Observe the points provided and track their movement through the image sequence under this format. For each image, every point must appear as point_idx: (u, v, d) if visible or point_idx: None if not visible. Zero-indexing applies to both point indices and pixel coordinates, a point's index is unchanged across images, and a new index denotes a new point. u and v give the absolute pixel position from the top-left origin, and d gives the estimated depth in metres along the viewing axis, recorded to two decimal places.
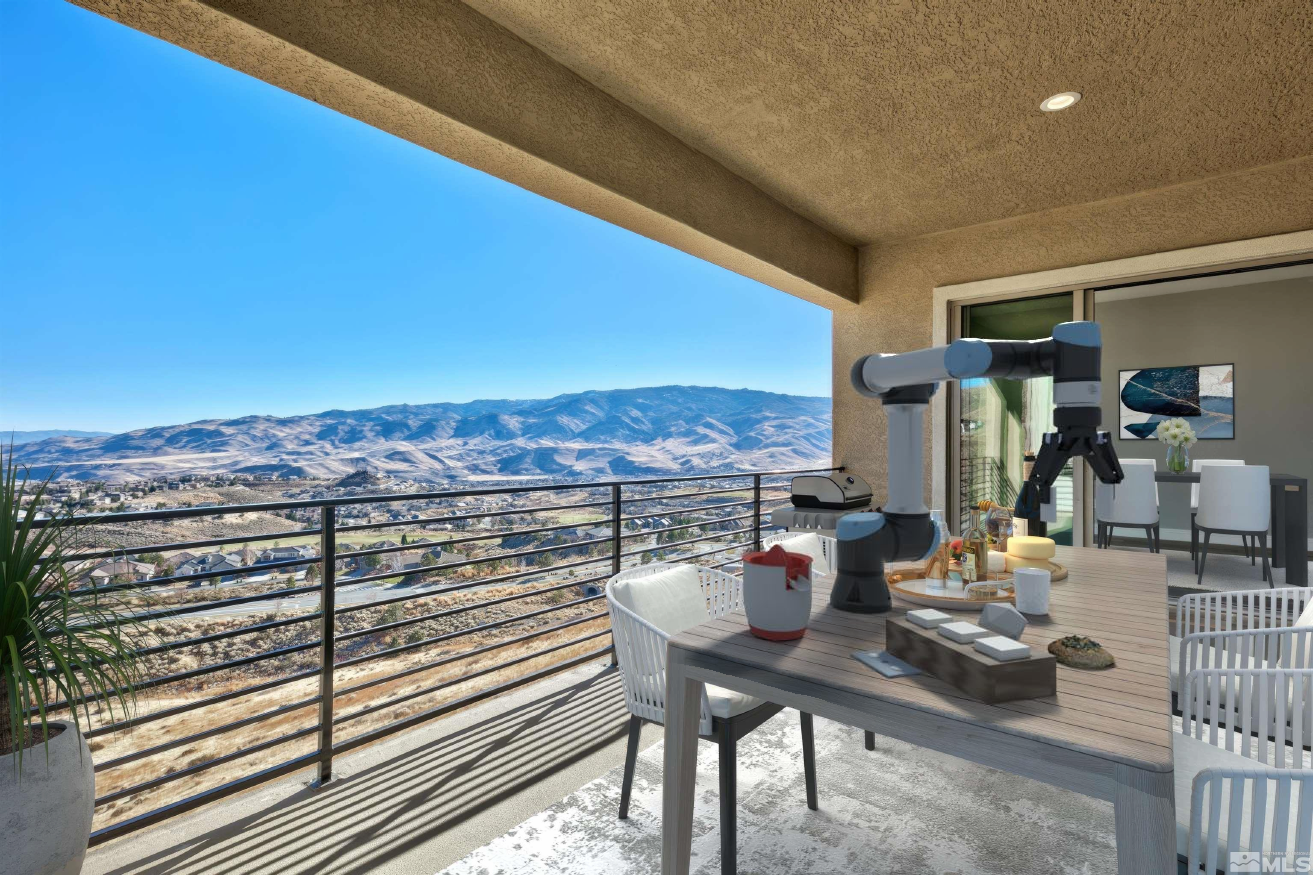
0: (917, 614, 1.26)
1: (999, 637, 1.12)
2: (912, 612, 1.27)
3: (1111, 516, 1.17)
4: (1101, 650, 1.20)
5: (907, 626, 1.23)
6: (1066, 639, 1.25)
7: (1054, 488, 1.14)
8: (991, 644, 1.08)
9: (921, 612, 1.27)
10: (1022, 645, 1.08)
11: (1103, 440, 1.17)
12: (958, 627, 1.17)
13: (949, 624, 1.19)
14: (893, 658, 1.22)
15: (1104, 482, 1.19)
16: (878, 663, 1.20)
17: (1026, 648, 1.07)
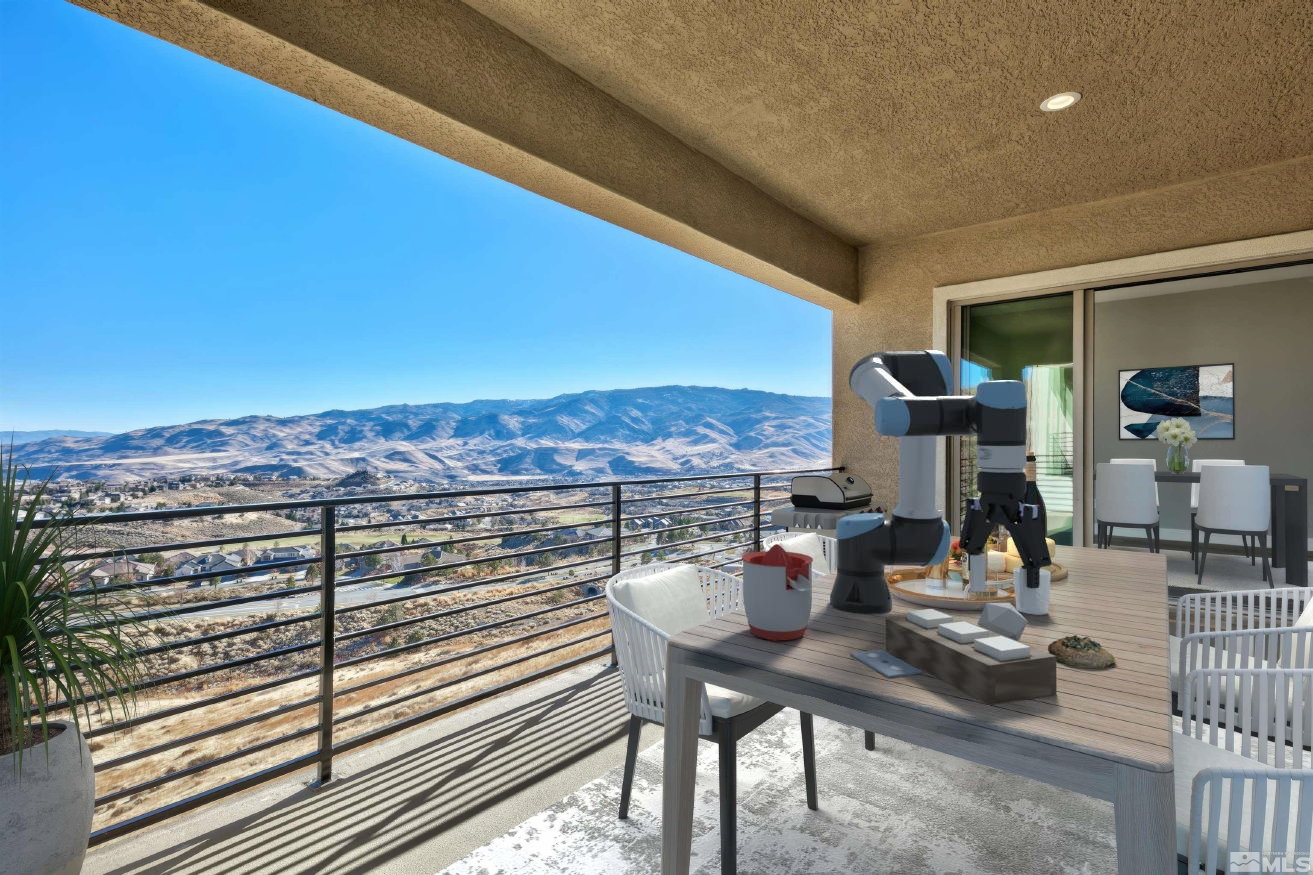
0: (917, 614, 1.26)
1: (999, 637, 1.12)
2: (912, 612, 1.27)
3: (1020, 604, 1.03)
4: (1101, 650, 1.20)
5: (907, 626, 1.23)
6: (1066, 639, 1.25)
7: (971, 557, 1.14)
8: (991, 644, 1.08)
9: (921, 612, 1.27)
10: (1022, 645, 1.08)
11: None
12: (958, 627, 1.17)
13: (949, 624, 1.19)
14: (893, 658, 1.22)
15: None
16: (878, 663, 1.20)
17: (1026, 648, 1.07)
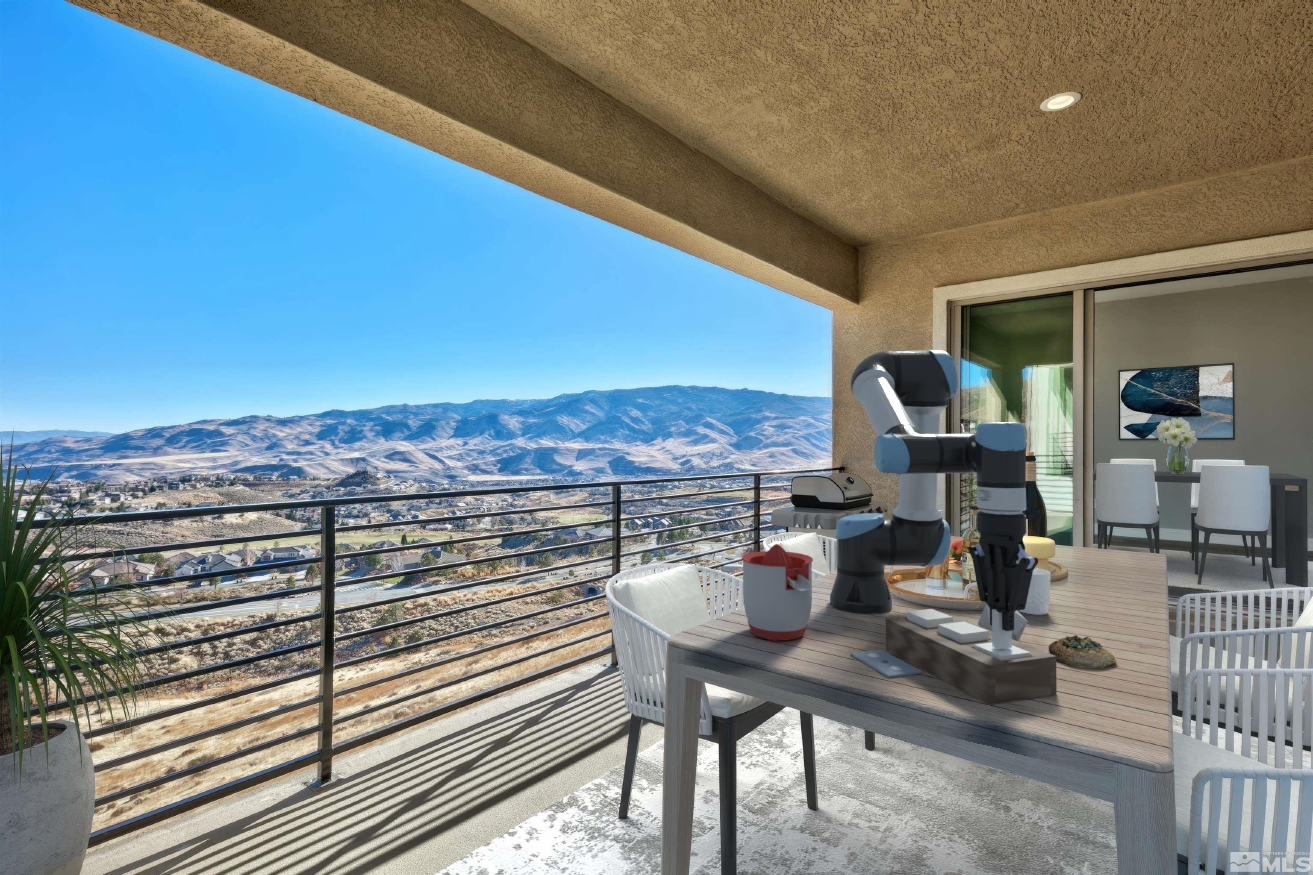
0: (917, 614, 1.26)
1: None
2: (912, 612, 1.27)
3: (996, 645, 1.08)
4: (1102, 650, 1.20)
5: (907, 626, 1.23)
6: (1067, 639, 1.25)
7: (993, 611, 1.09)
8: (991, 649, 1.08)
9: (921, 612, 1.27)
10: (1022, 650, 1.08)
11: None
12: (958, 627, 1.17)
13: (949, 624, 1.19)
14: (893, 658, 1.22)
15: None
16: (878, 663, 1.20)
17: (1026, 653, 1.07)
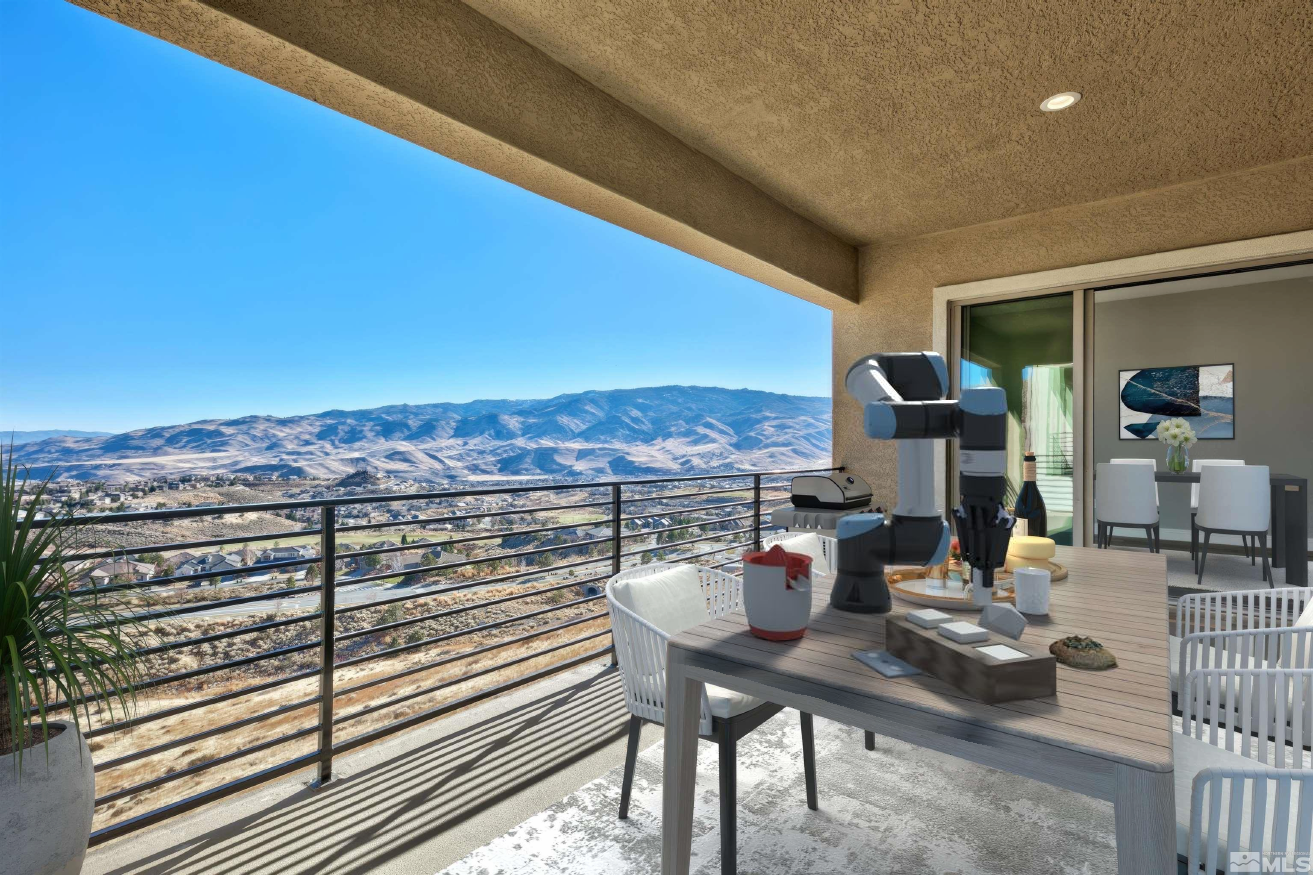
0: (917, 614, 1.26)
1: (999, 645, 1.12)
2: (912, 612, 1.27)
3: (976, 602, 1.13)
4: (1103, 650, 1.20)
5: (907, 626, 1.23)
6: (1068, 639, 1.25)
7: (974, 569, 1.13)
8: (991, 653, 1.08)
9: (921, 612, 1.27)
10: (1022, 654, 1.08)
11: None
12: (958, 627, 1.17)
13: (949, 624, 1.19)
14: (893, 658, 1.22)
15: None
16: (878, 663, 1.20)
17: None
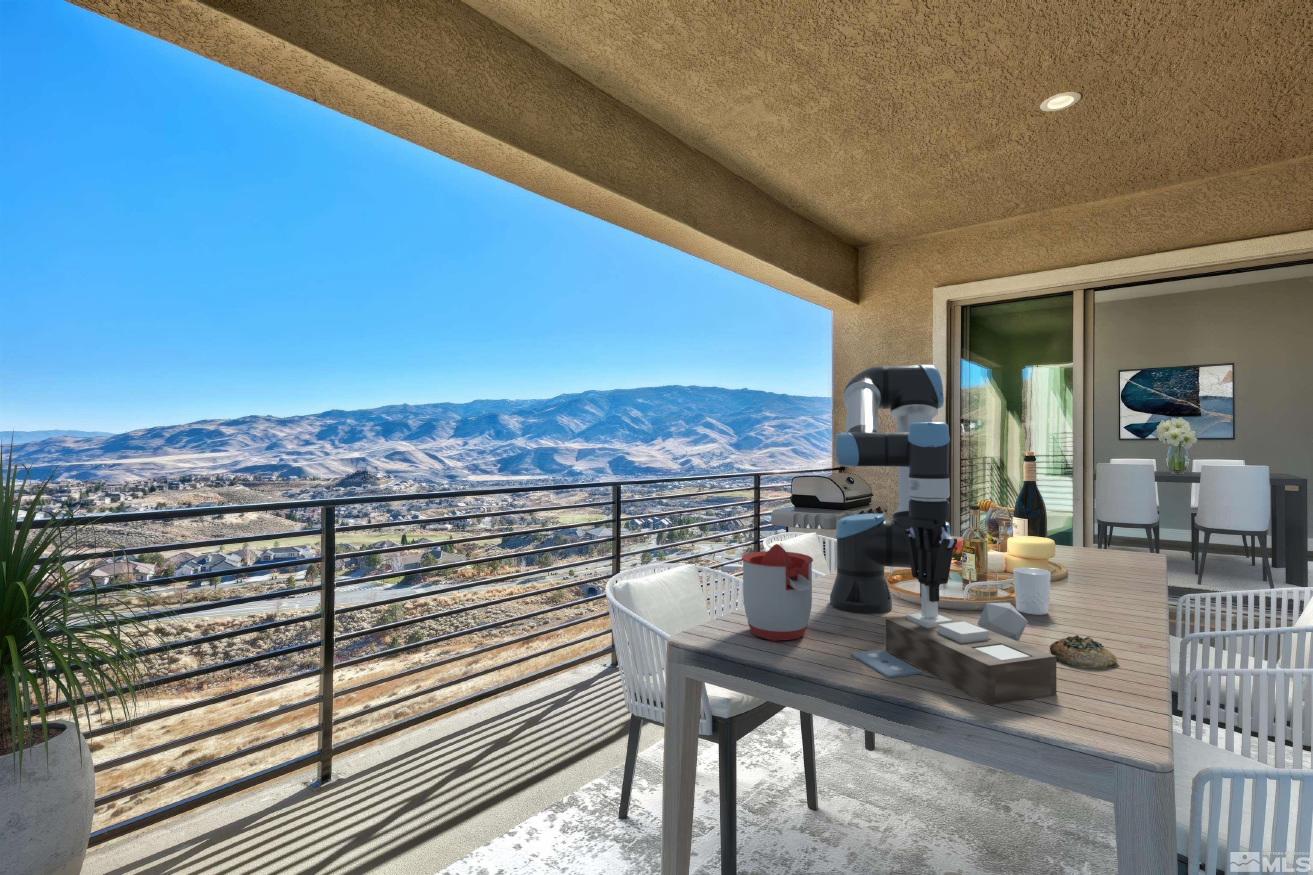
0: (917, 617, 1.26)
1: (999, 645, 1.12)
2: (912, 615, 1.27)
3: (924, 614, 1.25)
4: (1103, 650, 1.20)
5: (907, 626, 1.23)
6: (1068, 639, 1.25)
7: (922, 585, 1.26)
8: (991, 653, 1.08)
9: (921, 615, 1.27)
10: (1022, 654, 1.08)
11: None
12: (958, 627, 1.17)
13: (949, 624, 1.19)
14: (893, 658, 1.22)
15: None
16: (878, 663, 1.20)
17: None
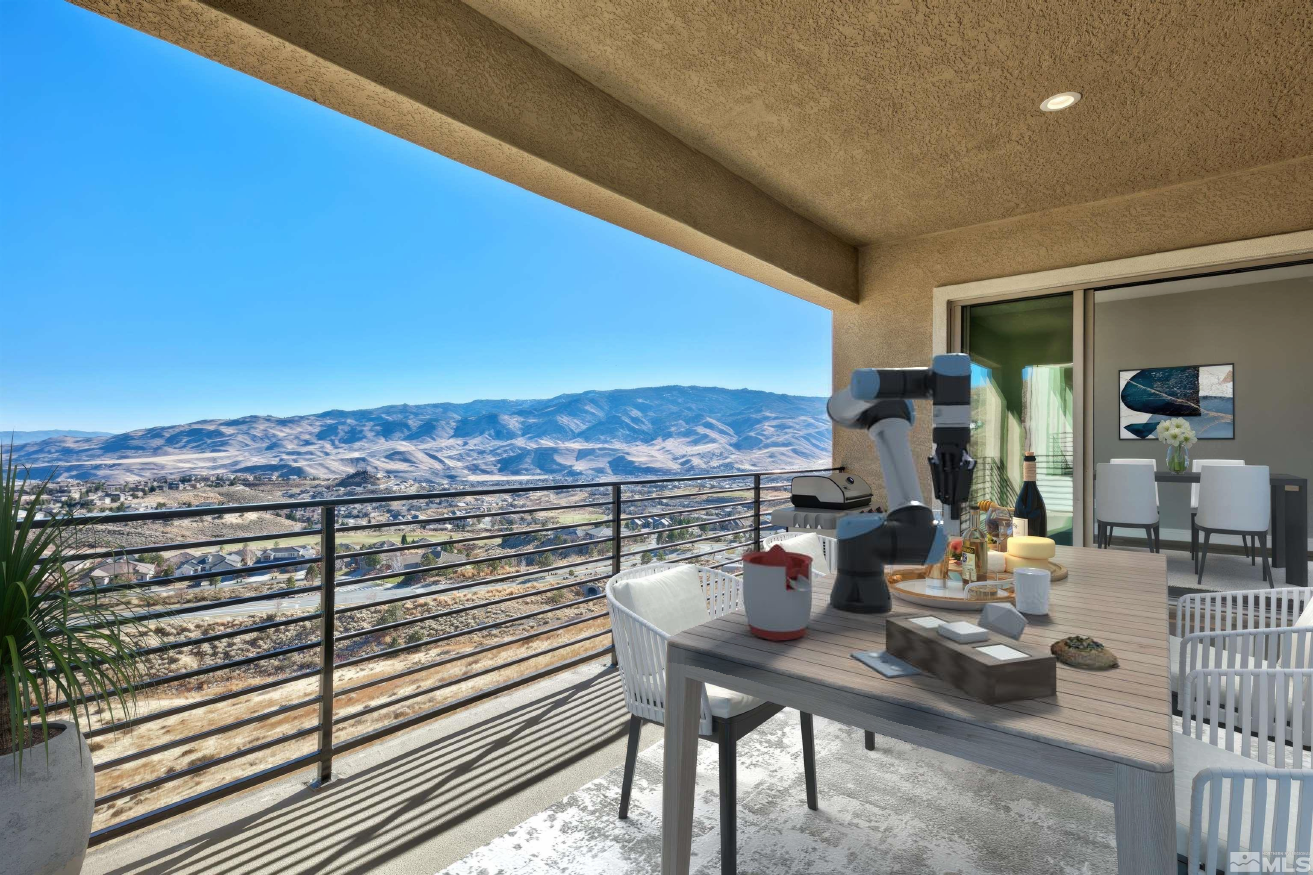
0: (917, 622, 1.26)
1: (999, 645, 1.12)
2: (912, 620, 1.27)
3: (946, 532, 1.36)
4: (1104, 650, 1.20)
5: (907, 626, 1.23)
6: (1069, 639, 1.24)
7: (944, 505, 1.36)
8: (991, 653, 1.08)
9: (921, 620, 1.27)
10: (1022, 654, 1.08)
11: None
12: (958, 627, 1.17)
13: (949, 624, 1.19)
14: (893, 658, 1.22)
15: None
16: (878, 663, 1.20)
17: None
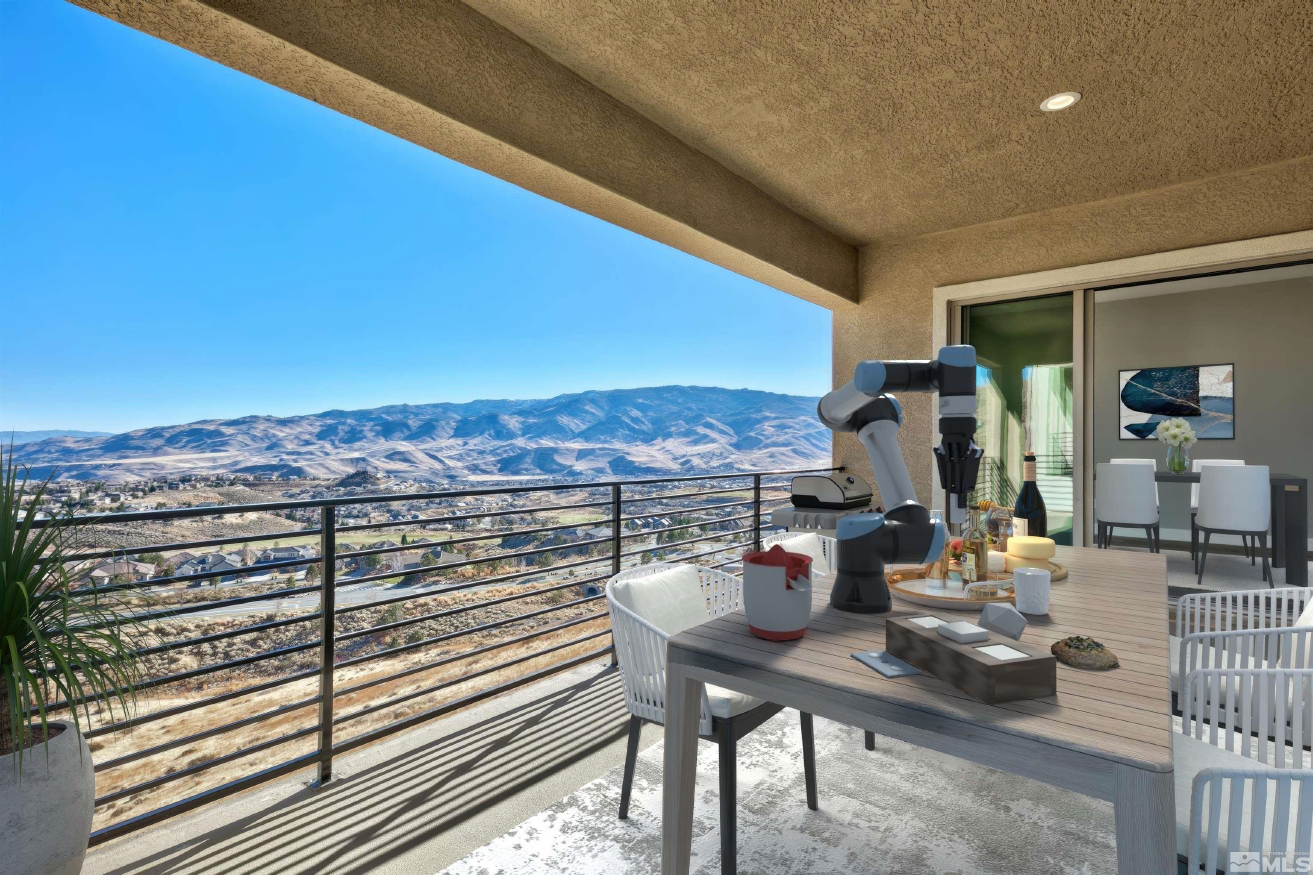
0: (917, 622, 1.26)
1: (999, 645, 1.12)
2: (912, 620, 1.27)
3: (953, 521, 1.38)
4: (1105, 650, 1.20)
5: (907, 626, 1.23)
6: (1069, 639, 1.24)
7: (951, 494, 1.39)
8: (991, 653, 1.08)
9: (921, 620, 1.27)
10: (1022, 654, 1.08)
11: None
12: (958, 627, 1.17)
13: (949, 624, 1.19)
14: (893, 658, 1.22)
15: None
16: (878, 663, 1.20)
17: None
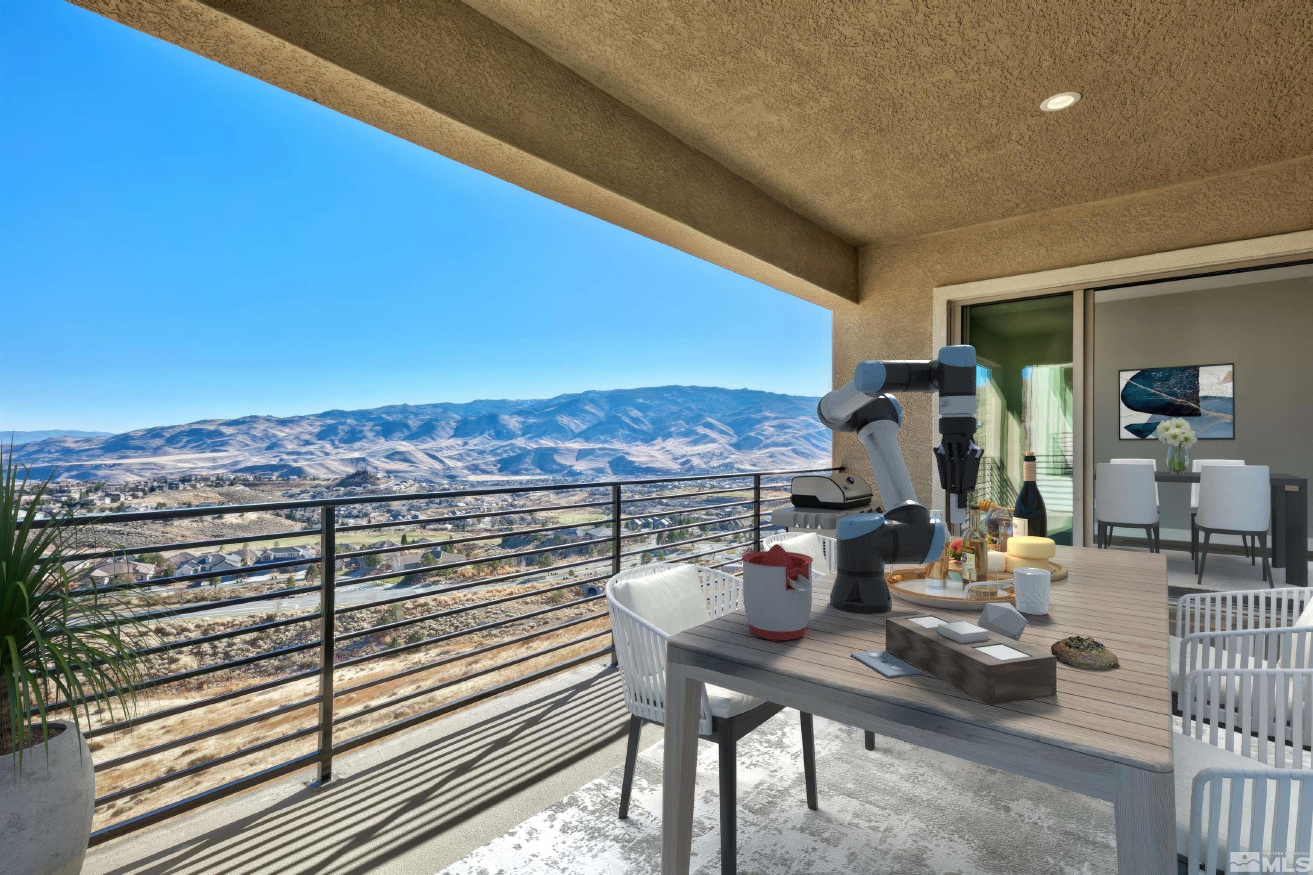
0: (917, 622, 1.26)
1: (999, 645, 1.12)
2: (912, 620, 1.27)
3: (953, 521, 1.38)
4: (1105, 650, 1.20)
5: (907, 626, 1.23)
6: (1069, 639, 1.24)
7: (951, 494, 1.39)
8: (991, 653, 1.08)
9: (921, 620, 1.27)
10: (1022, 654, 1.08)
11: None
12: (958, 627, 1.17)
13: (949, 624, 1.19)
14: (893, 658, 1.22)
15: None
16: (878, 663, 1.20)
17: None
